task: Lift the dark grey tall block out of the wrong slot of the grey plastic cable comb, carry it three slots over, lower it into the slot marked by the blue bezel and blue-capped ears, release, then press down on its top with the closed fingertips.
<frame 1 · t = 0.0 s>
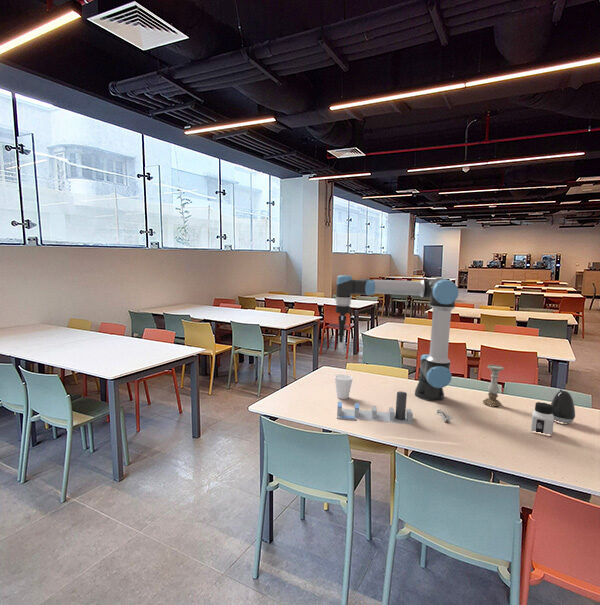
hand: (341, 345, 199), 28 cm above the table, fingers open, 13 cm apart
container: (541, 432, 168), on the table
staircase: (444, 423, 175), on the table
cup: (342, 397, 203), on the table
black egg shaped speaker: (560, 422, 180), on the table
dark grey tall block: (400, 418, 176), point 1 cm above the table, touching grey slotted rack
candle holder: (492, 404, 200), on the table
grey slotted rack: (373, 417, 178), on the table
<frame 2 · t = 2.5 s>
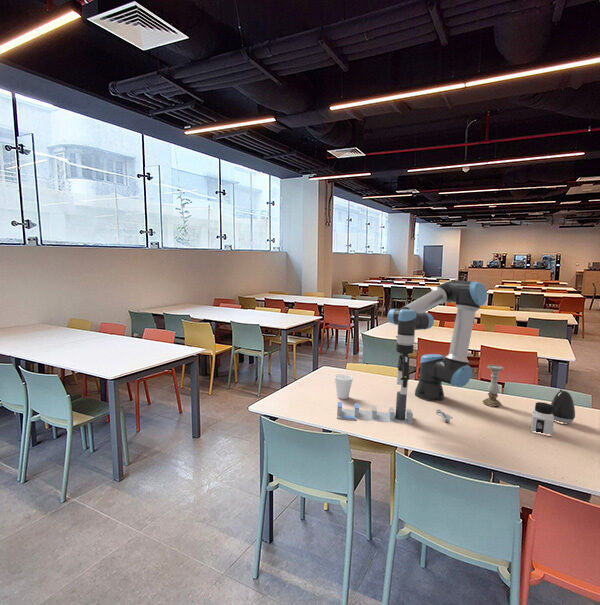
hand: (401, 389, 175), 15 cm above the table, fingers open, 13 cm apart
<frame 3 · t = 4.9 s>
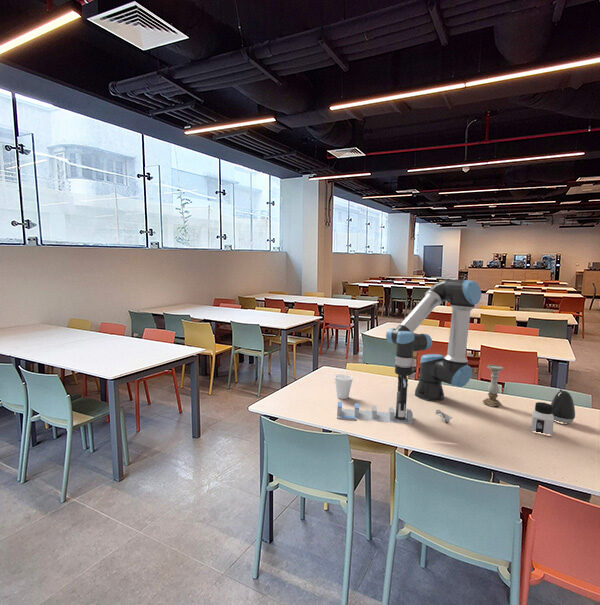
hand: (400, 414, 176), 2 cm above the table, fingers closed on dark grey tall block, 4 cm apart
dark grey tall block: (400, 417, 176), point 1 cm above the table, touching gripper
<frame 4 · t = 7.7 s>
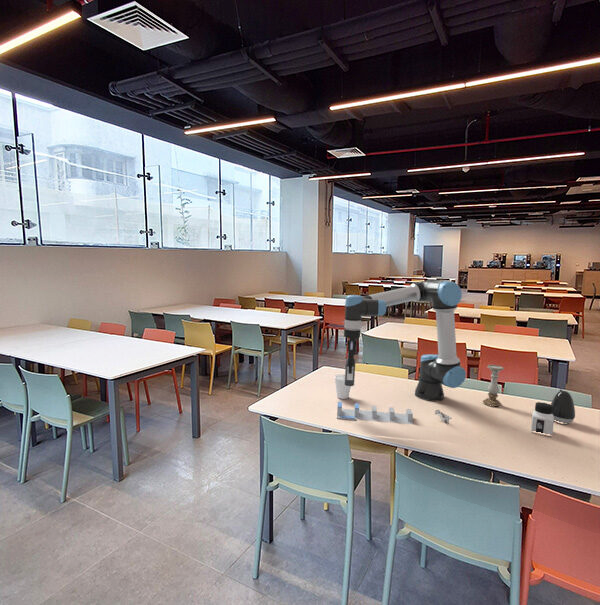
hand: (349, 378, 177), 18 cm above the table, fingers closed on dark grey tall block, 4 cm apart
dark grey tall block: (349, 384, 178), point 15 cm above the table, touching gripper
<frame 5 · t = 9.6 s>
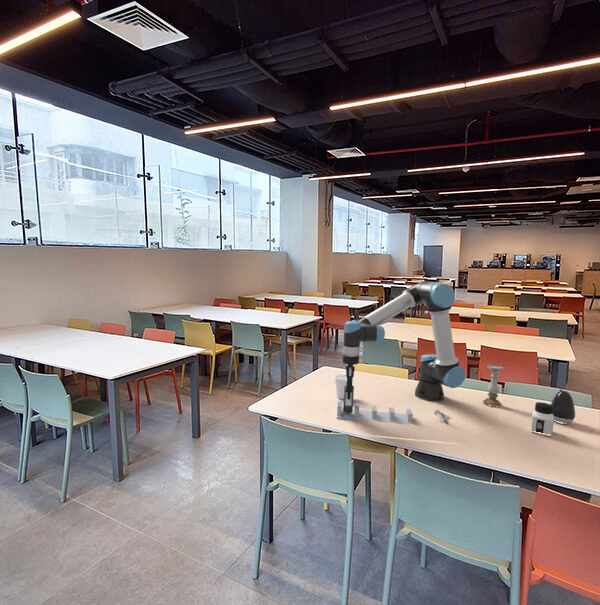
hand: (348, 403, 179), 6 cm above the table, fingers closed on dark grey tall block, 4 cm apart
dark grey tall block: (347, 411, 179), point 2 cm above the table, touching gripper
when the fingers open (4 cm above the table, at t = 10.8 s): dark grey tall block stays where it is, resting on grey slotted rack.
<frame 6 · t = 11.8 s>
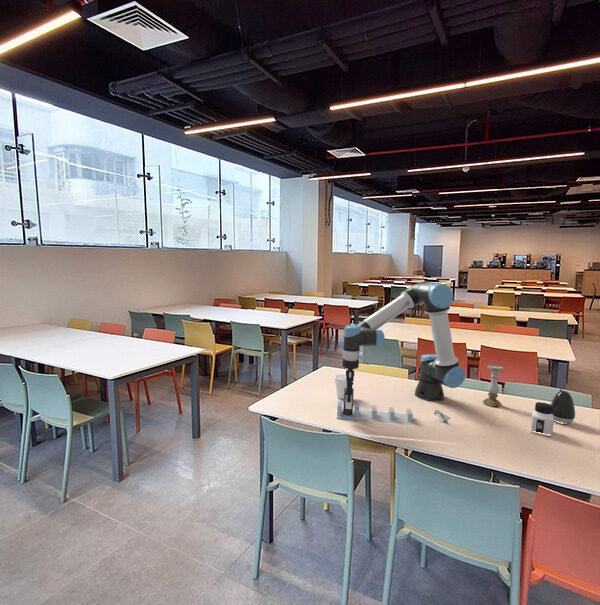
hand: (348, 403, 179), 6 cm above the table, fingers open, 13 cm apart
dark grey tall block: (347, 413, 179), point 1 cm above the table, touching grey slotted rack
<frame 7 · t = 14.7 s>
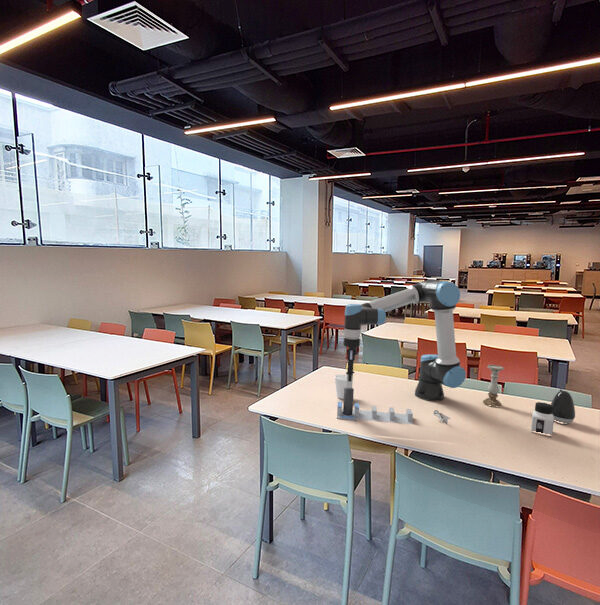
hand: (349, 387, 178), 13 cm above the table, fingers closed
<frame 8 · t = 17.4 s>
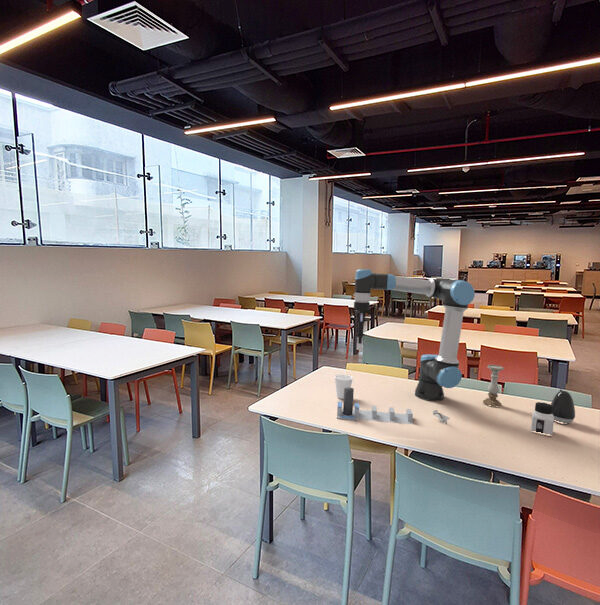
hand: (359, 349, 186), 29 cm above the table, fingers closed
at the end: dark grey tall block 0.1 cm from the target spot on the grey slotted rack, point 0.6 cm above the grey slotted rack's base; dark grey tall block tilted 1°; the gripper is holding nothing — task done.
